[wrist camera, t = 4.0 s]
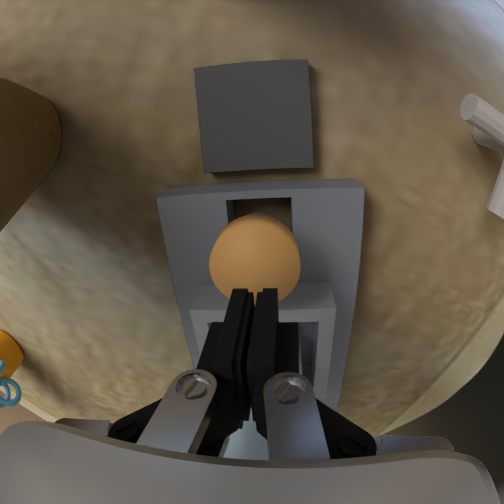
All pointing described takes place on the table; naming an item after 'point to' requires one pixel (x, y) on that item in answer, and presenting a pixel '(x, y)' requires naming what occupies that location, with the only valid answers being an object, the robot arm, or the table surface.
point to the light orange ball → (255, 256)
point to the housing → (311, 262)
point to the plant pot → (24, 145)
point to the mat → (255, 115)
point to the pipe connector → (487, 139)
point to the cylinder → (9, 367)
